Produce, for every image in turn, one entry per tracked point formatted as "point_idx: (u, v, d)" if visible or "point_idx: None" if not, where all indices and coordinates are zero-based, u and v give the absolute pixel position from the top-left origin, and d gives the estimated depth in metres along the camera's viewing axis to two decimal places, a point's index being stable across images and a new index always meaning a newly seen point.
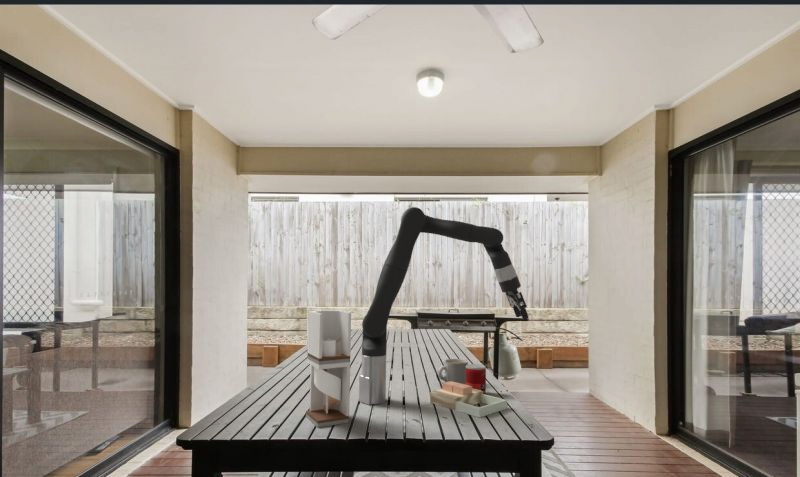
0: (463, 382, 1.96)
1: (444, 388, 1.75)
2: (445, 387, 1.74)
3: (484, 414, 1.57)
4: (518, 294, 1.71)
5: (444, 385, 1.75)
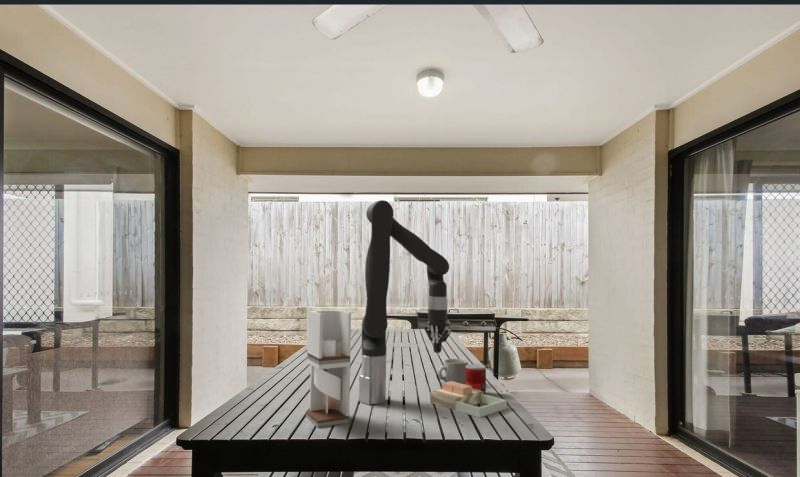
0: (463, 382, 1.96)
1: (444, 388, 1.75)
2: (445, 387, 1.74)
3: (484, 414, 1.57)
4: (449, 332, 1.78)
5: (444, 385, 1.75)
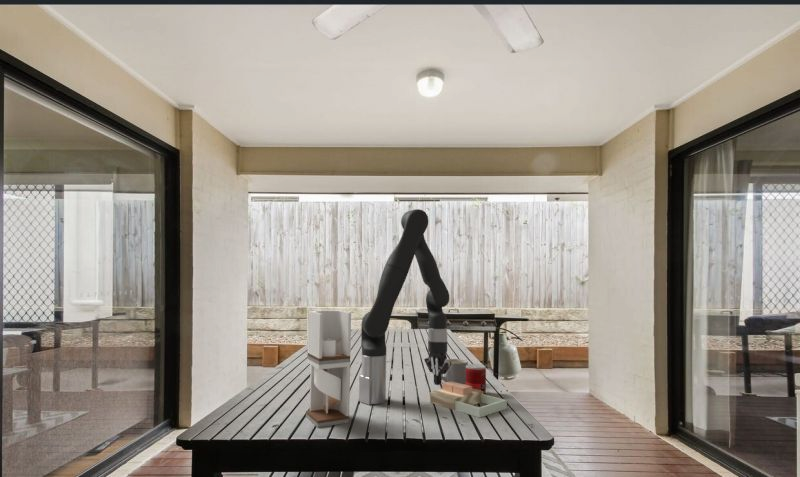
0: (463, 382, 1.96)
1: (444, 388, 1.75)
2: (445, 387, 1.74)
3: (484, 414, 1.57)
4: (449, 365, 1.77)
5: (444, 385, 1.75)
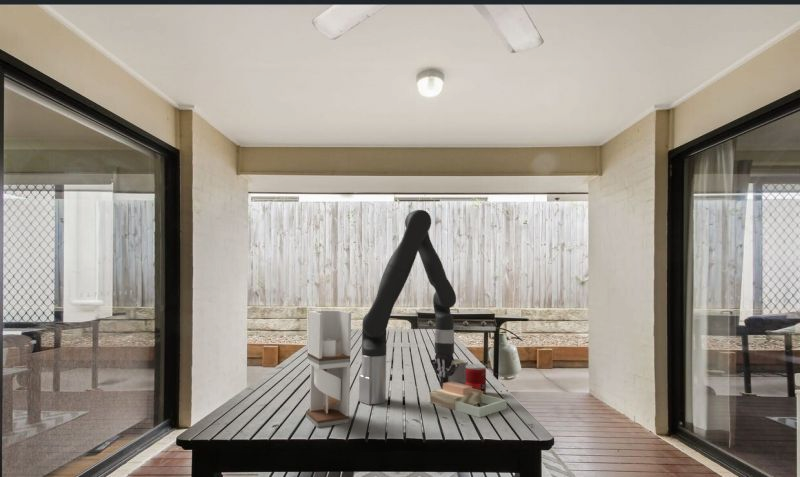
0: (463, 382, 1.96)
1: (445, 388, 1.74)
2: (446, 388, 1.74)
3: (484, 414, 1.57)
4: (456, 366, 1.74)
5: (445, 385, 1.74)
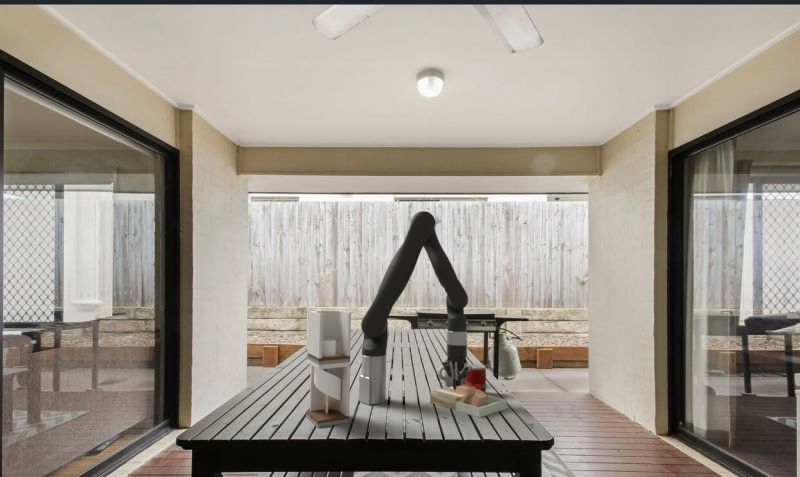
0: (463, 382, 1.96)
1: (458, 392, 1.70)
2: (459, 391, 1.69)
3: (484, 414, 1.57)
4: (469, 369, 1.70)
5: (458, 388, 1.70)
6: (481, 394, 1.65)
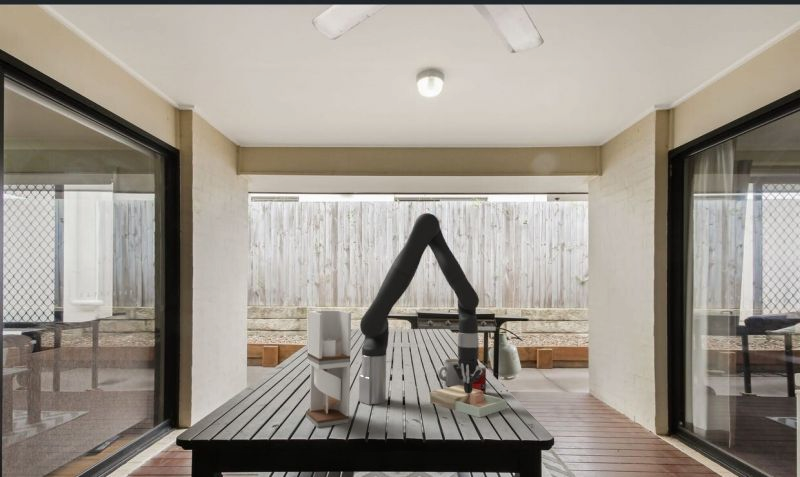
0: (463, 382, 1.96)
1: (471, 397, 1.65)
2: (472, 400, 1.65)
3: (484, 414, 1.57)
4: (481, 372, 1.66)
5: (474, 398, 1.65)
6: None
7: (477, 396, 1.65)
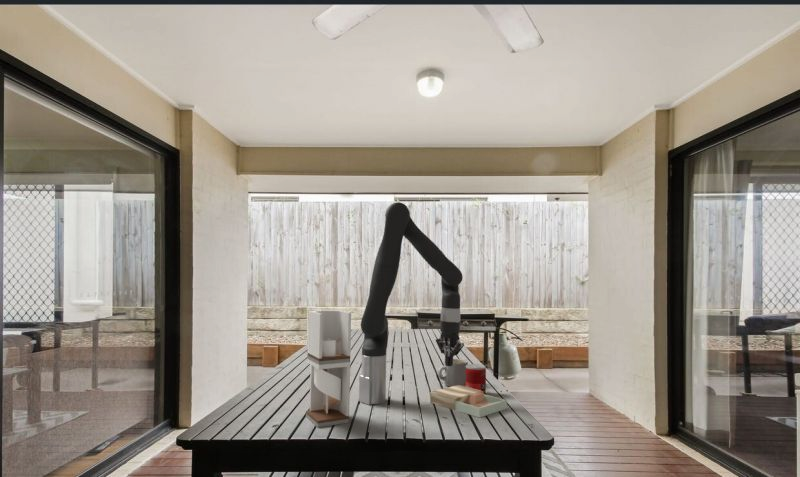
0: (463, 382, 1.96)
1: (471, 397, 1.65)
2: (472, 400, 1.65)
3: (484, 414, 1.57)
4: (461, 345, 1.71)
5: (473, 398, 1.65)
6: None
7: (477, 396, 1.65)
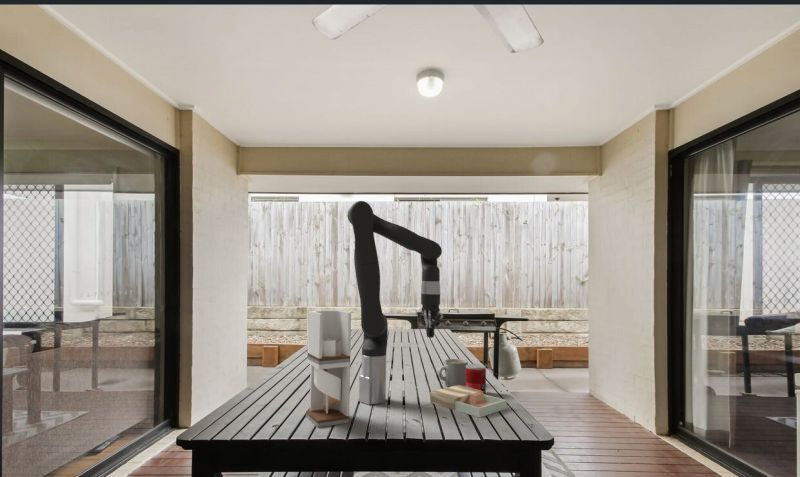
0: (463, 382, 1.96)
1: (471, 397, 1.65)
2: (472, 400, 1.65)
3: (484, 414, 1.57)
4: (441, 316, 1.77)
5: (473, 398, 1.65)
6: None
7: (477, 396, 1.65)
